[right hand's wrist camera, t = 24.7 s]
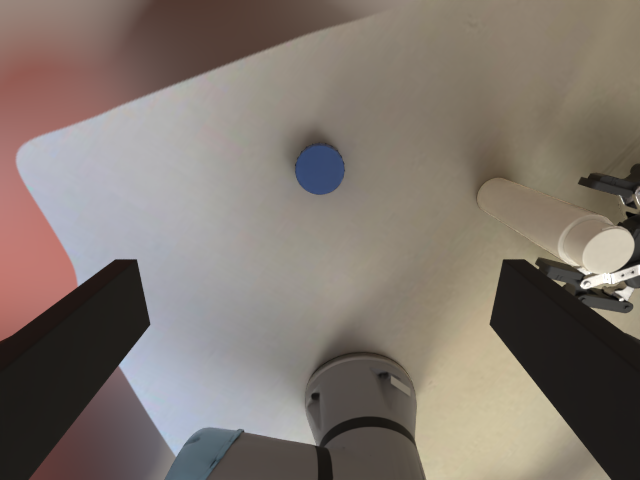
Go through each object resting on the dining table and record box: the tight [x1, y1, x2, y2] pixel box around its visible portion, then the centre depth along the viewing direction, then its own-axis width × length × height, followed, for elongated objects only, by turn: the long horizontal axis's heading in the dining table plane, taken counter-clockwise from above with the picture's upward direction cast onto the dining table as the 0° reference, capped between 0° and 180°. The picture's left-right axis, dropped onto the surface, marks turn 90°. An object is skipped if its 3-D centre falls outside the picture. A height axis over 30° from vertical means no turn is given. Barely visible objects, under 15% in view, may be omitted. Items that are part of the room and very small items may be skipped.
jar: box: [477, 178, 635, 274], centre depth 31 cm, size 4×4×16 cm
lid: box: [295, 143, 345, 195], centre depth 36 cm, size 5×5×2 cm
